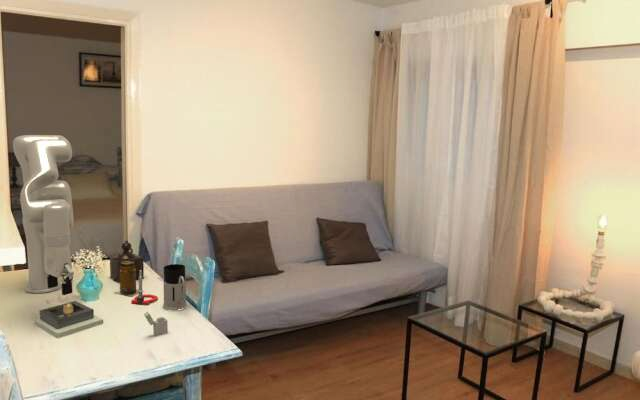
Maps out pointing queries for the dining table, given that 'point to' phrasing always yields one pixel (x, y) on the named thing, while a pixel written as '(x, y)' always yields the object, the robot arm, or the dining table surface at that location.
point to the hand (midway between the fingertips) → (60, 290)
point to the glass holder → (174, 287)
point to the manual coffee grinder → (125, 256)
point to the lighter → (157, 324)
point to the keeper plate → (68, 329)
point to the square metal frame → (58, 322)
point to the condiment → (128, 279)
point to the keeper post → (68, 309)
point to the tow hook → (140, 297)
